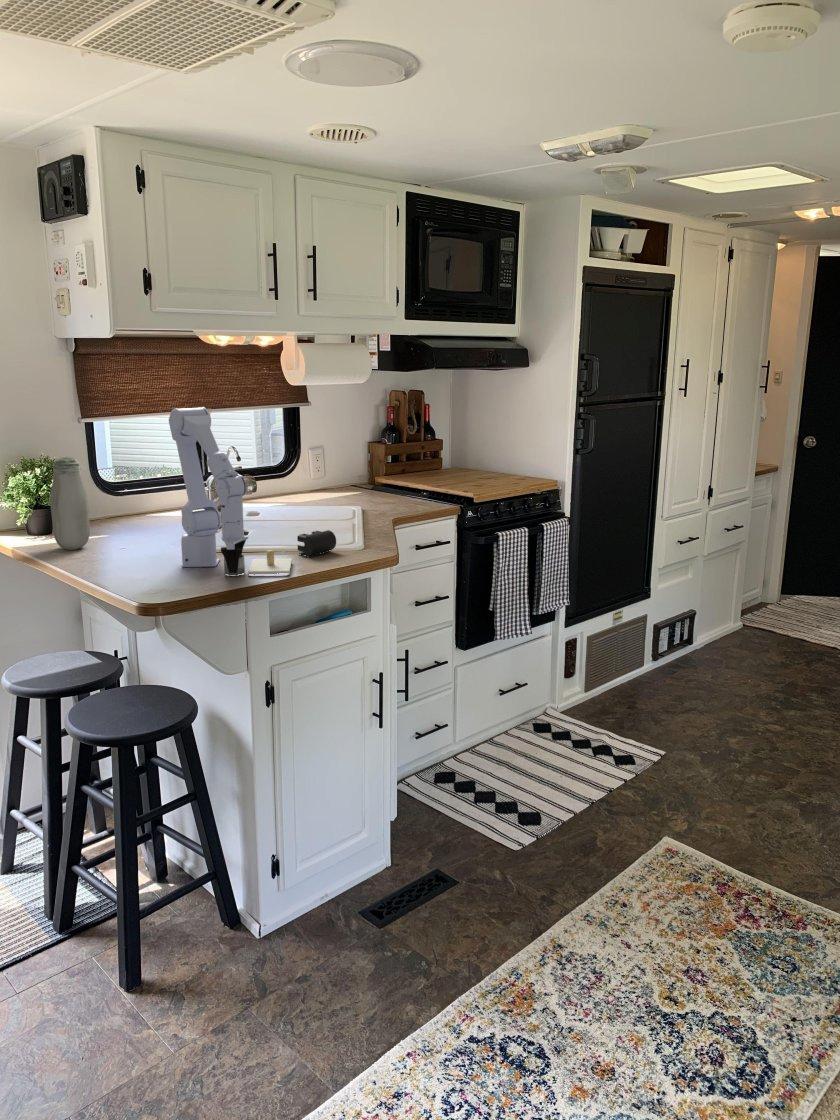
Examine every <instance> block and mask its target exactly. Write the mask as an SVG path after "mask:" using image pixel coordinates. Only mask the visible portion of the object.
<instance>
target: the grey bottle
mask: <svg viewBox="0 0 840 1120" xmlns="http://www.w3.org/2000/svg"><path fill="white" fill-rule="evenodd" d="M80 465H81V464H80V463H79V461H78V460H77V459H76V458H75V457H72V456H64V457H59V458H57V459H55V461H54V463H53V465H52V471H53V475H52V485H51V489H50V495H49V502H50V504H49V505H50V511H51V512H50V515H51V519H52V520H51V521H52V522H51V523H52V529H53V530H52V532H53V536H54V539H55V542H56V544H57V545H58V546H59V547H60V548H62V549H64V550H69V551H74V550H78V549H81V548H84V546H86V545H87V543H88V542H89V538H90V536H91V526H90V516H89V515H90V514H89V498H88V494H87V489H86V486H85V484H84V481H83V478H82V474H81V466H80Z"/></svg>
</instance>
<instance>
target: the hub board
mask: <svg viewBox="0 0 840 1120" xmlns="http://www.w3.org/2000/svg"><path fill="white" fill-rule="evenodd" d="M291 564H292V565H293V559H292V558H291V557H290V558H288V557H287V558H284V557H283V558H275V551H274V550H272V549H268V550H266V558H253V559H252V560H251V564H250V566H249V569H248V572H247V573H248V575H249V574H254V575H255V574H277V573H278V574H279V573H290V574H291V571H290V568H291V569H292V566H291Z"/></svg>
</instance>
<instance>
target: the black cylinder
mask: <svg viewBox="0 0 840 1120" xmlns="http://www.w3.org/2000/svg"><path fill="white" fill-rule="evenodd" d="M297 542H299V543H303V544H304V545H300V544H298V545H297V551H298V552H299V553H298V555H299V554H301V555H306V556H311V557H313V556H312V555H315V556H317V555H316V554H319V555H321V554H320V553H323V552H326V551H329V550H331V551H332V550H334V549H335V547H336V545H337V537H336V535H335V533H334V532H333V531H331V530H329V529H328V530H324V531H320V530H313V531H311V534H309V533H302V534H301V533H300V534H298V535H297ZM323 554H324V553H323Z"/></svg>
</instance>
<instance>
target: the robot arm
mask: <svg viewBox="0 0 840 1120" xmlns="http://www.w3.org/2000/svg"><path fill="white" fill-rule="evenodd" d="M168 425H169V429H170V433H171V436H172V441H175V442H176V443H175V444H176V447H177V452H178V453H177V454H178V458H179V463H180V467H181V471H182V476H183V482H184V485H185V490H186V494H187V495H186V496H187V499H188V501H186V502H185V504H184V505H183V507H182V508H181V509H180V511H181V526H182V529H183V531H184V532H185V533H183V534H181V540H180V541H181V542H180V543H181V560H182V561H181V562H182V565H181V566H182V568H195V567H197V568H200V567H201V568H202V567H206V568H208V567H217V566H218V564H219V562H220V560H221V559H220V557H219V558H217V557H218V556H217V541H216V540H217V539H216V534H217V533H218V532H219V531H218V530H219V529H220V528H221V534H222V536H221V540H222V542H224V544H225V546H221V547H220V552H221V554H222V556H223V559H224V558H225V560H226V564H227V568H228V571H229V573H237V571H238V563H239V557H240V555H243V550H244V547H245V544H246V541H247V540H248V539H249V535H245V533H244V531H245V530H244V529H245V527H244V507H243V506H244V505H243V503H244V502H243V497H244V496H245V495H246V493H247V483H246V480H245V476H243V475H241V474H240V473H239V472H237V471H235V469H234V467H233V465H232V463H231V461H230V459H229V458H228V455H227V454H226V453H224V452H221V451H220V448H219V447H218V446H219V445H218V444H217V441H216V439H215V436H214V433H213V432H212V429H211V427H212V426H211V425H212V418H211V415H210V412H209V411H208V409H207V408H206V407H205V406H201V407H192V408H190V407H189V408H188V407H187V408H186V407H185V408H177V407H175V408H173V409H172V410H171V411H170V414H169V417H168ZM197 442H198V444H199V445H200V447H201V448H202V450H203V452H204V453H205V455H206V457H208V458H207V460H206V465H207V467H208V469H209V471H210V473H211V474H212V477H213V479H214V481H215V483H216V484H215V487H214V488H215V493H216V495H217V498H218V504H219V505H220V511H221V512H220V511H219V509H218V505H217V503H216V502H215V501H213V500H212V499H210V498H208V496H207V492H206V486H205V482H204V478H203V477H204V476H203V472H202V468H201V463H200V457H199V454H198V450H197V449H198V448H197V444H196V443H197Z"/></svg>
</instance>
